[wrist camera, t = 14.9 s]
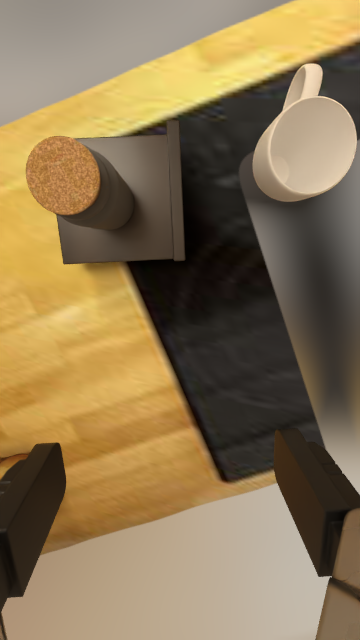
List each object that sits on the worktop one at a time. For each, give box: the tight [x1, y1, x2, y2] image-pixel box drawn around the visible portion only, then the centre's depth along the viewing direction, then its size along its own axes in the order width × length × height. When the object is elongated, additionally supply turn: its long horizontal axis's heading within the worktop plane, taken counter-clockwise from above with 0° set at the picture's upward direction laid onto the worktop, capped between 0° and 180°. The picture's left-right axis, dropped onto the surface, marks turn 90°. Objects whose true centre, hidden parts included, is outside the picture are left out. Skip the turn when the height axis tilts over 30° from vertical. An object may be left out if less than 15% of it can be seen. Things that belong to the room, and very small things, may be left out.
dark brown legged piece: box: [57, 120, 185, 264], centre depth 35 cm, size 14×13×9 cm
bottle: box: [26, 136, 134, 230], centre depth 27 cm, size 6×6×15 cm
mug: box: [252, 64, 357, 202], centre depth 33 cm, size 12×8×11 cm
